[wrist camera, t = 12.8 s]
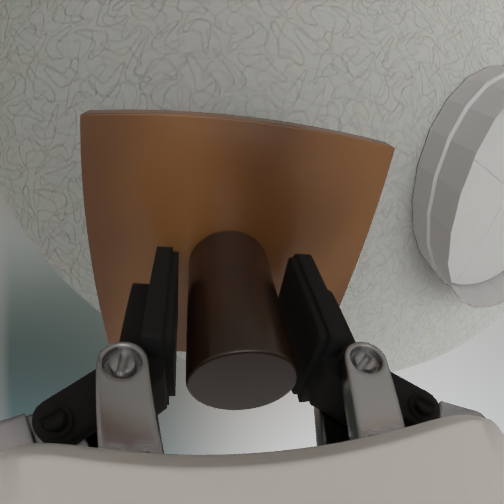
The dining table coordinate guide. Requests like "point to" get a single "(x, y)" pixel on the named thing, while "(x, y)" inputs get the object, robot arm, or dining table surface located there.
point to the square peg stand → (225, 230)
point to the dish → (465, 191)
